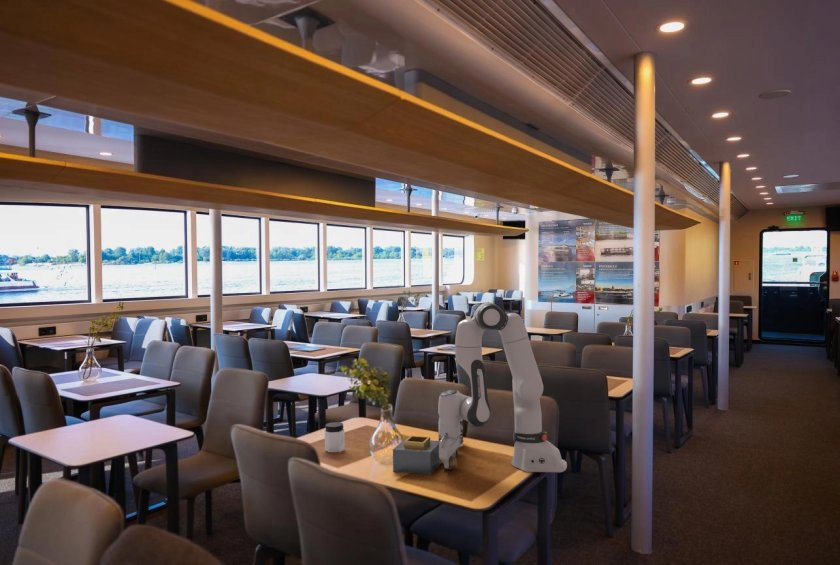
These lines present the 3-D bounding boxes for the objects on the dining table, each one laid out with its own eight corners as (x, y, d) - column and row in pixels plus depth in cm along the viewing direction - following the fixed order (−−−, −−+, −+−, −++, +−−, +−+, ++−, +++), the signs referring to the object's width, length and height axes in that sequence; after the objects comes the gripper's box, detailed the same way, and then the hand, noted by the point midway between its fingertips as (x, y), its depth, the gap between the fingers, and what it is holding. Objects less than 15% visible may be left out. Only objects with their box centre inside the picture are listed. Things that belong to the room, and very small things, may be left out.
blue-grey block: (441, 462, 246) (441, 435, 246) (430, 474, 231) (430, 446, 231) (406, 459, 251) (405, 432, 251) (393, 471, 236) (392, 443, 236)
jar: (337, 454, 260) (336, 427, 260) (322, 452, 263) (321, 426, 263) (347, 448, 268) (347, 422, 268) (332, 446, 272) (332, 421, 271)
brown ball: (458, 467, 238) (458, 454, 238) (455, 472, 233) (455, 458, 233) (445, 466, 240) (445, 453, 240) (442, 471, 235) (441, 457, 235)
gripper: (450, 438, 226) (450, 473, 226) (462, 424, 245) (463, 457, 245) (434, 436, 228) (435, 471, 228) (448, 423, 247) (448, 456, 247)
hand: (449, 464), depth 237 cm, fingers open, 7 cm apart
